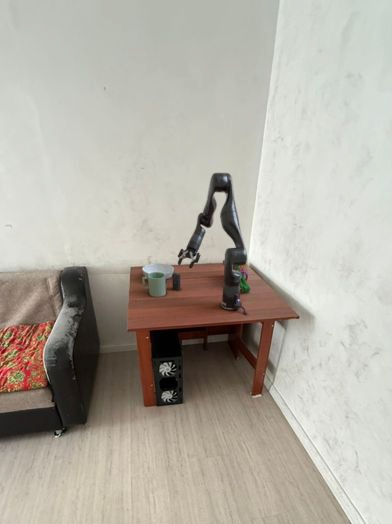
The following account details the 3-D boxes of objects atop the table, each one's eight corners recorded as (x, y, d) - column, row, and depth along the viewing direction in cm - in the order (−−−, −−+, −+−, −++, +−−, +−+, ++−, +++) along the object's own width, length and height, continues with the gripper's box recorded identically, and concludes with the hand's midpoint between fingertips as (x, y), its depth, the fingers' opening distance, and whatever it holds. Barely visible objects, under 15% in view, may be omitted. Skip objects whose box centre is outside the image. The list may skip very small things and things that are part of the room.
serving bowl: (178, 281, 194) (178, 271, 190) (148, 286, 187) (147, 276, 182) (167, 270, 209) (167, 261, 205) (139, 274, 202) (138, 265, 198)
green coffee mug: (167, 290, 183) (166, 272, 176) (164, 297, 175) (163, 279, 168) (145, 288, 184) (144, 271, 177) (141, 295, 176) (139, 277, 169)
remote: (174, 287, 186) (174, 272, 181) (180, 289, 185) (180, 274, 179) (172, 288, 185) (171, 273, 179) (177, 290, 183) (177, 275, 177)
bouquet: (233, 303, 185) (219, 275, 204) (257, 300, 188) (241, 273, 207) (239, 276, 170) (223, 249, 189) (265, 274, 174) (247, 248, 193)
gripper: (183, 237, 184) (172, 260, 183) (202, 242, 178) (191, 265, 177) (187, 244, 191) (177, 266, 190) (206, 248, 185) (196, 271, 184)
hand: (184, 266), depth 183 cm, fingers open, 8 cm apart
